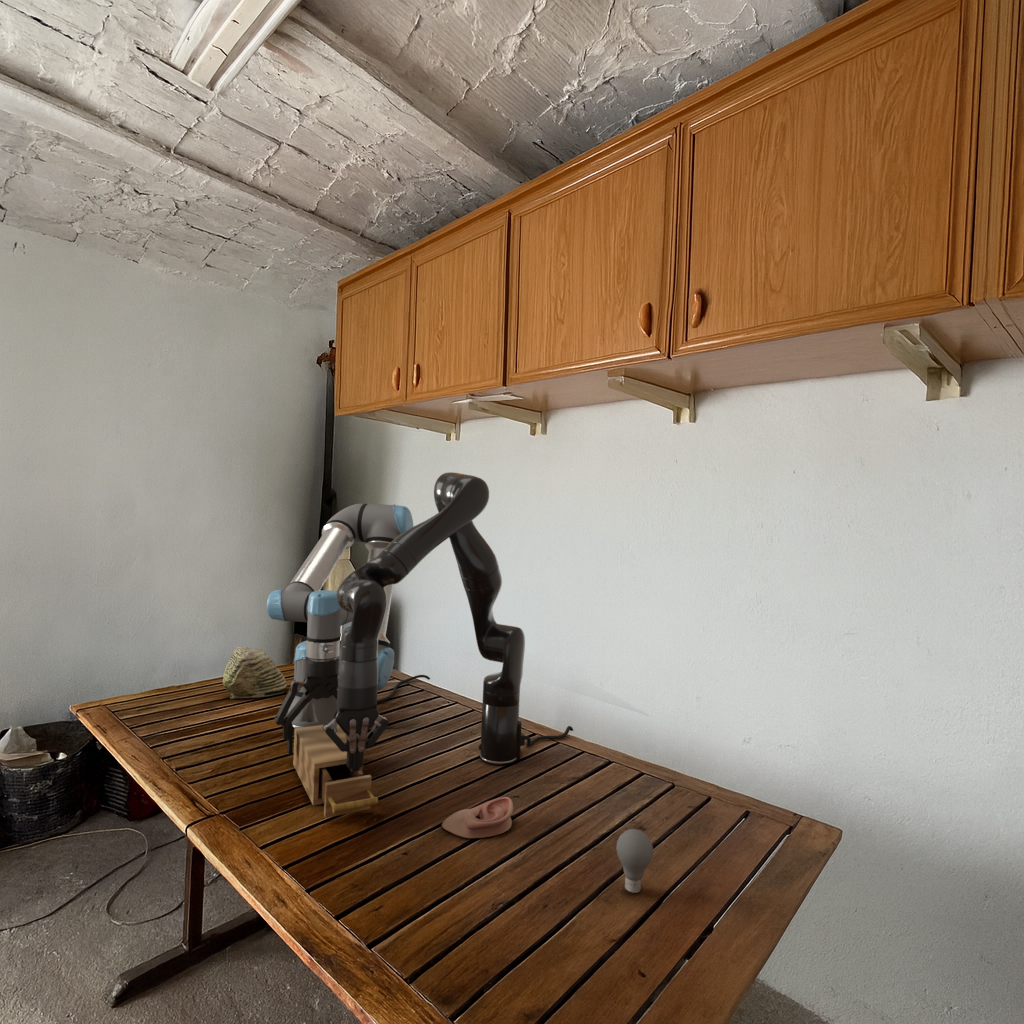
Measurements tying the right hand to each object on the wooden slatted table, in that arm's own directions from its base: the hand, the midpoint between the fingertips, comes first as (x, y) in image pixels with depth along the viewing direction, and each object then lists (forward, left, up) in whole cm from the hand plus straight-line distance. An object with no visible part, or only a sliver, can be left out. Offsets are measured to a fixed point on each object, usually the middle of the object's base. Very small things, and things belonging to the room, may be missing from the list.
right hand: (354, 769), depth 123 cm
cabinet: (+3, -22, -11) cm, 25 cm away
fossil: (+17, -89, -11) cm, 91 cm away
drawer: (+1, -10, -10) cm, 14 cm away
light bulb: (-41, +35, -11) cm, 55 cm away
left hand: (+3, -29, -6) cm, 30 cm away
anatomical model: (-23, +7, -11) cm, 27 cm away
